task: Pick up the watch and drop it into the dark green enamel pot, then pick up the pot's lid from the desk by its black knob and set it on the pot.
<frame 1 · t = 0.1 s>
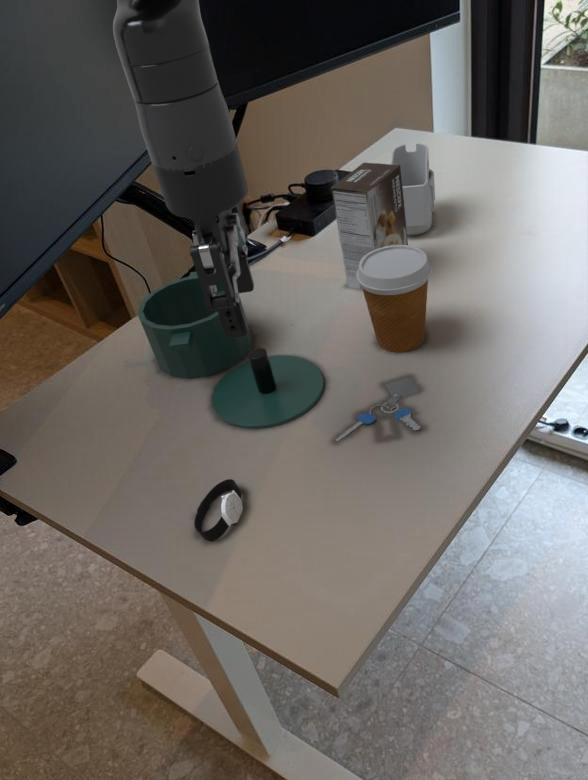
hand: (241, 312, 70), 18 cm above the table, tool pointing down, fingers open, 8 cm apart
coffee box: (379, 280, 106), on the table
cable organizer: (415, 231, 116), on the table
pot: (205, 352, 98), on the table
disposable coffee cup: (401, 343, 93), on the table
key chain: (395, 419, 82), on the table
watch: (222, 519, 74), on the table
lid: (268, 391, 88), point 1 cm above the table
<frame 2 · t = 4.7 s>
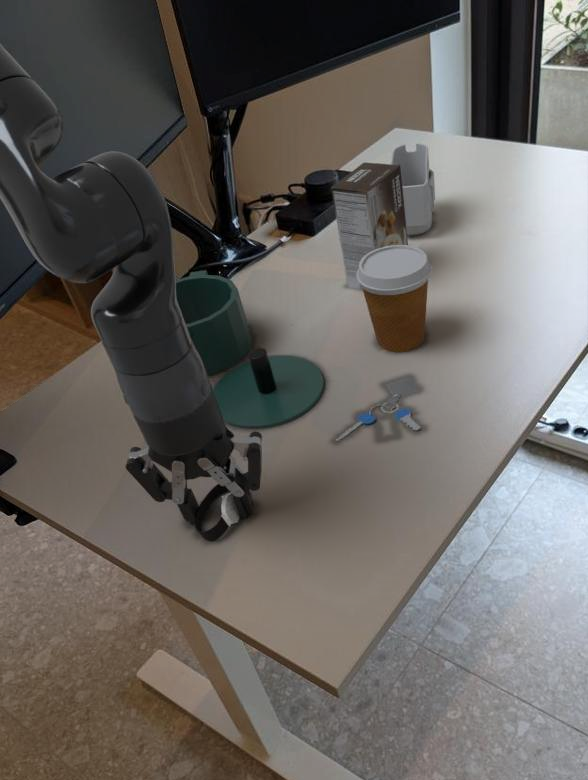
hand: (221, 515, 74), 0 cm above the table, tool pointing down, fingers closed on watch, 5 cm apart
watch: (222, 519, 74), on the table, touching gripper
everything else where it was.
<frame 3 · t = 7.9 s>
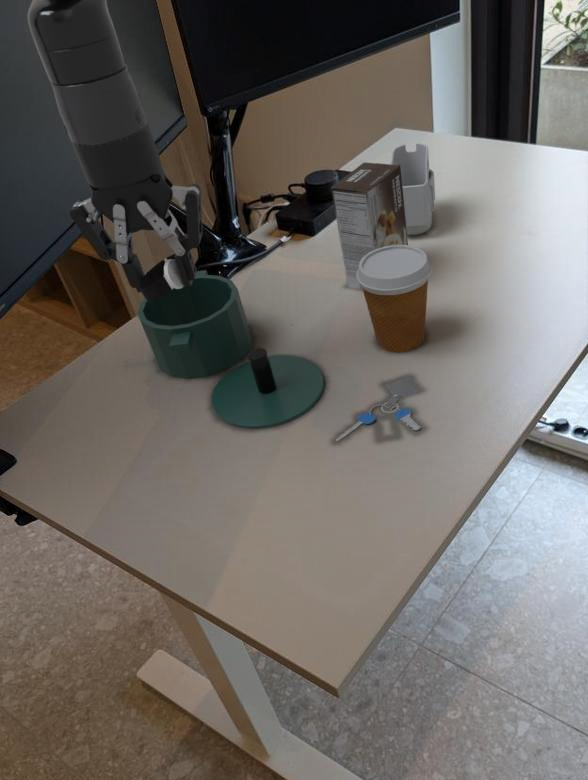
hand: (165, 285, 77), 17 cm above the table, tool pointing down, fingers closed on watch, 5 cm apart
watch: (167, 289, 78), point 17 cm above the table, touching gripper
everything else where it was.
when the fingers open (8 cm above the table, at t = 11.1 s): watch drops 5 cm, resting on pot.
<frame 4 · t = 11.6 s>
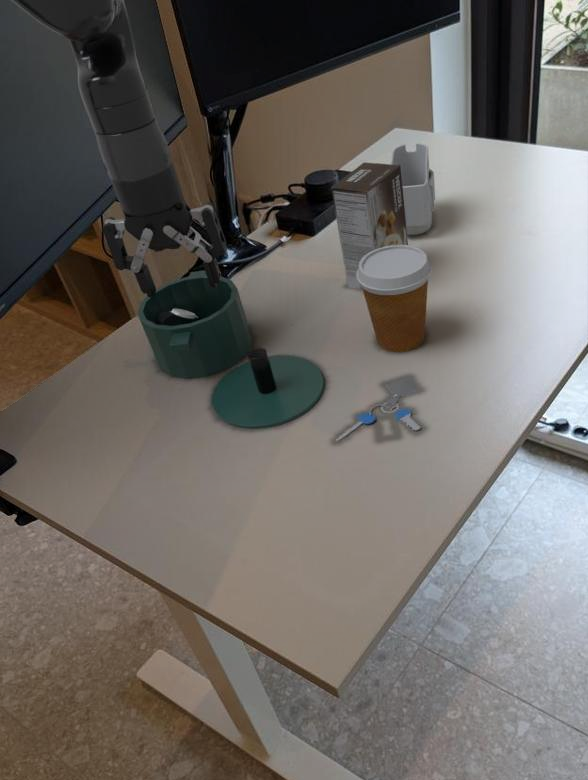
hand: (183, 289, 91), 10 cm above the table, tool pointing down, fingers open, 8 cm apart
watch: (187, 331, 97), point 3 cm above the table, touching pot
everything else where it was.
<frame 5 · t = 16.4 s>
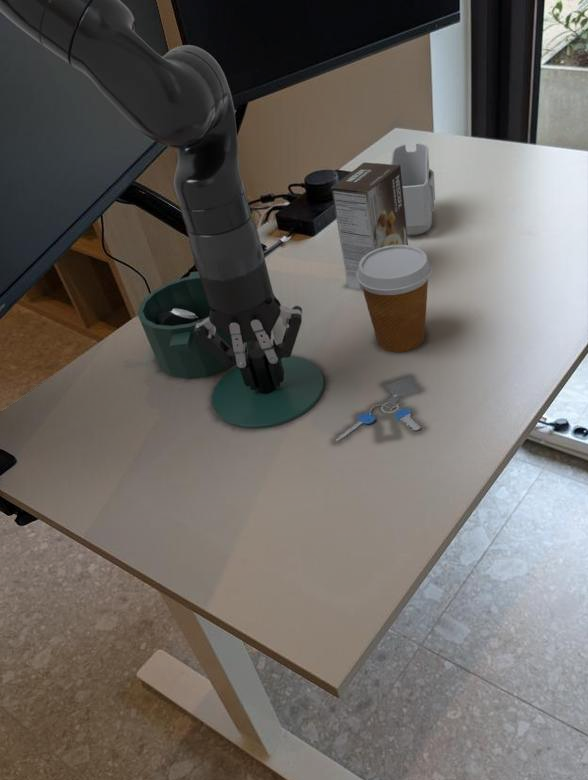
hand: (265, 384, 88), 2 cm above the table, tool pointing down, fingers closed on lid, 2 cm apart
lid: (268, 391, 88), point 1 cm above the table, touching gripper
everything else where it was.
when the fingers open (10 cm above the table, at t = 22.2 s): lid stays where it is, resting on pot.
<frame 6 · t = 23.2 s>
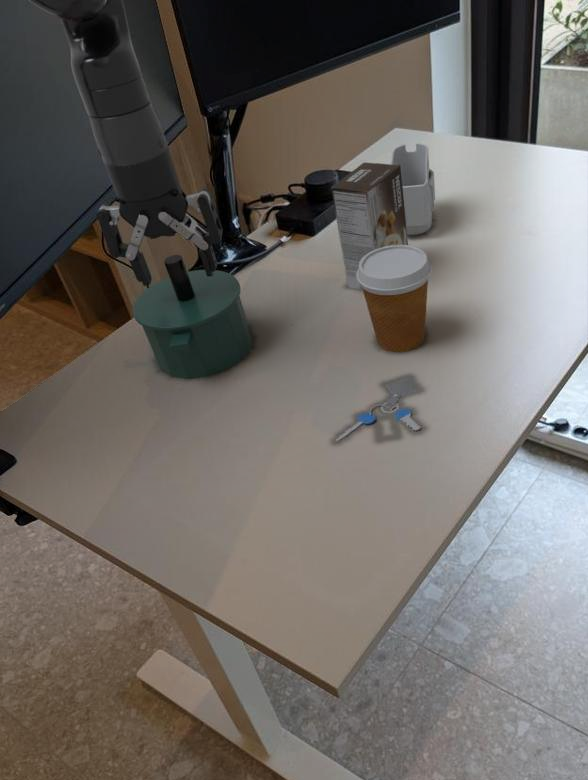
hand: (179, 278, 89), 12 cm above the table, tool pointing down, fingers open, 8 cm apart
lid: (187, 300, 92), point 8 cm above the table, touching pot
everything else where it was.
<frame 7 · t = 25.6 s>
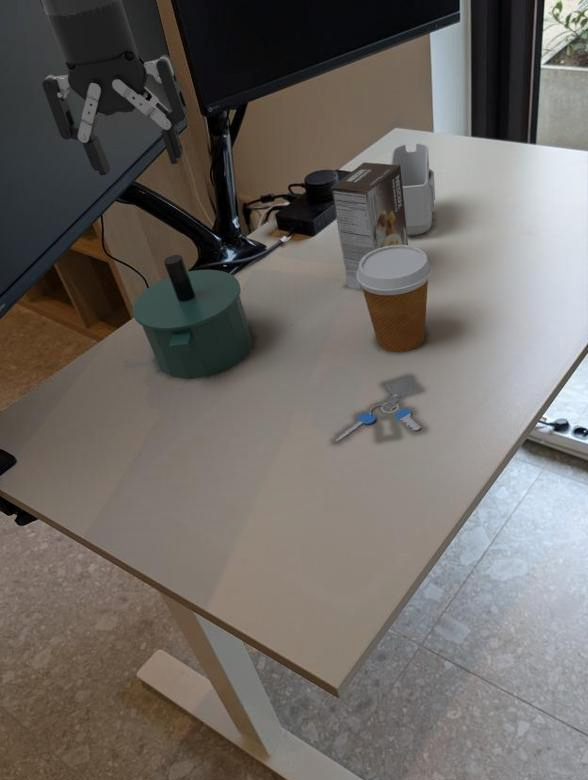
hand: (140, 167, 80), 26 cm above the table, tool pointing down, fingers open, 8 cm apart
nothing on the table moved.
at the end: watch inside the target area in the pot (2.4 cm from its centre), point 3.1 cm above the pot's base; lid 0.1 cm off-centre on the pot, point 8.5 cm above the pot's base; lid tilted 0° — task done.
